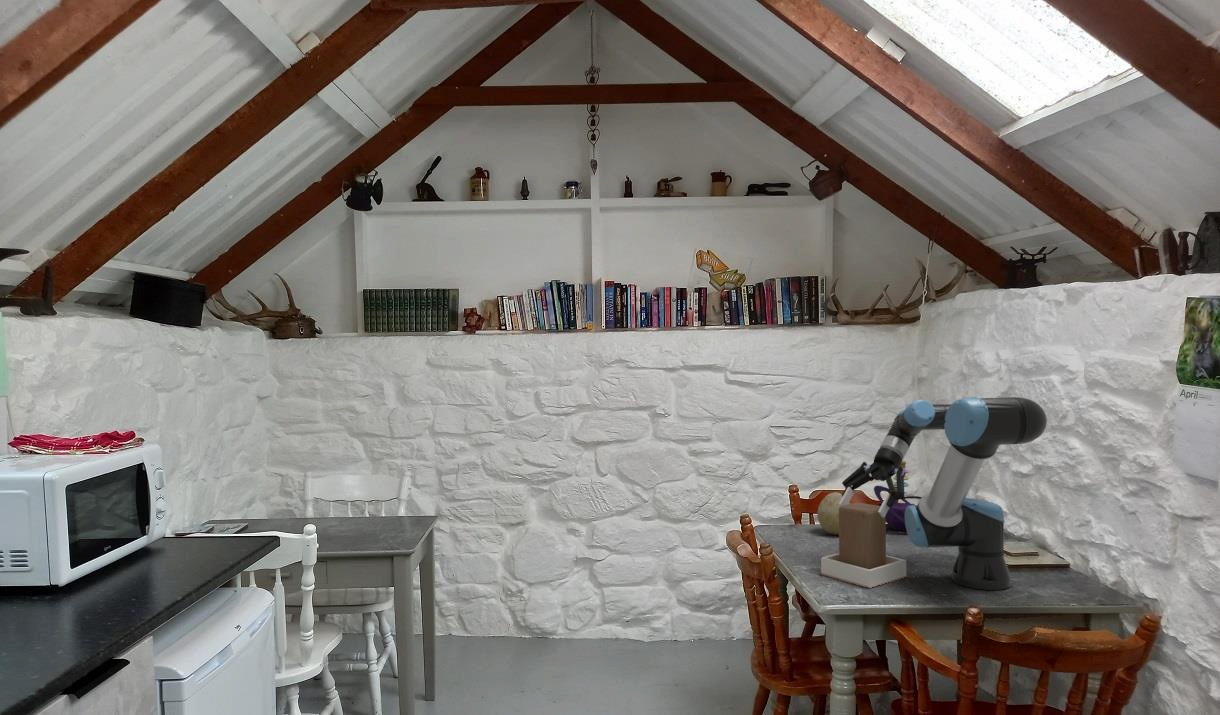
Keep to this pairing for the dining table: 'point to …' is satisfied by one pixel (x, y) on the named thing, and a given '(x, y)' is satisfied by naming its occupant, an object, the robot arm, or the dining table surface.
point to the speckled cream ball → (830, 513)
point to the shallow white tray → (863, 571)
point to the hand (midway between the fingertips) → (860, 510)
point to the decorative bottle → (896, 505)
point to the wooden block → (862, 535)
